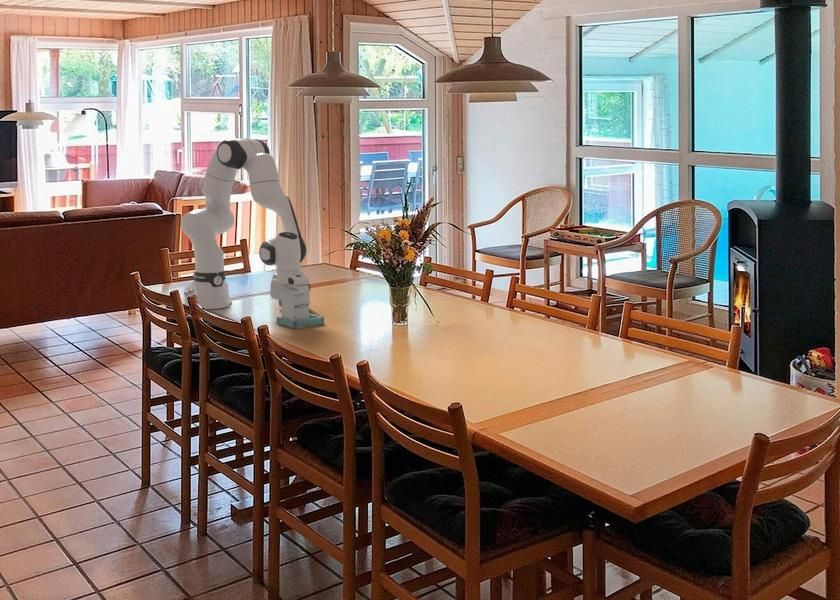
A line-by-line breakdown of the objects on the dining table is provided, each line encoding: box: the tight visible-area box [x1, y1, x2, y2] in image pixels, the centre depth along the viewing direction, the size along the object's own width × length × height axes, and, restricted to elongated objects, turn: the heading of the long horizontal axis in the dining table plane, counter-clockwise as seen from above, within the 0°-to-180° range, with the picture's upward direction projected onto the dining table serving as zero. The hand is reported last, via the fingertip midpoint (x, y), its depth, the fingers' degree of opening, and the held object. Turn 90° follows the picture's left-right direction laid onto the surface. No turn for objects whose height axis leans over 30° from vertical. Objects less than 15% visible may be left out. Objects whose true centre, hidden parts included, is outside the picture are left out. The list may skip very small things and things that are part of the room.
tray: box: [275, 312, 325, 329], centre depth 343 cm, size 12×13×2 cm
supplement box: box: [281, 289, 310, 321], centre depth 342 cm, size 7×7×13 cm
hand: (289, 313), depth 348 cm, fingers closed
